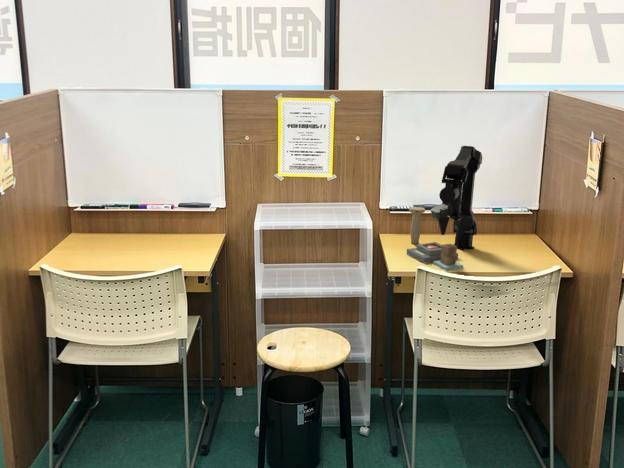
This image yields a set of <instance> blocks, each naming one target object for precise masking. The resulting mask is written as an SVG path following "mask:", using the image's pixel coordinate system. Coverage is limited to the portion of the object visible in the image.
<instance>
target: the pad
mask: <svg viewBox="0 0 624 468" xmlns="http://www.w3.org/2000/svg"><path fill="white" fill-rule="evenodd" d="M440 261H441V260H439V261H433V262H432V264H433V265H435V266H436V267H438V268H440V269H442V270H444V271H450V270H451V271H452V270H458V269H463V268H464V265H463V264H462V263H459V262H458V261H456V263H455V264H454V265H445V264H443V263H441V262H440Z"/></svg>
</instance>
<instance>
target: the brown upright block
mask: <svg viewBox="0 0 624 468" xmlns="http://www.w3.org/2000/svg"><path fill="white" fill-rule="evenodd" d="M441 245H442V248H441V261H440V262H441V263H443V264H445V265H454V264H455V263H456V262H457V258H456V253H457V250H458V248H457V246H455V245H453V244H452V243H445V244H441Z"/></svg>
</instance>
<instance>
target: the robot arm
mask: <svg viewBox="0 0 624 468" xmlns="http://www.w3.org/2000/svg"><path fill="white" fill-rule="evenodd" d="M482 163H483V154H482V152H481V151H479V150H478V149H476V147H474V146H472V145H461V147H460V150H459V153H458V155H456V157H455V159H454V160H450V161H449V162H448V163H447V165H445V167H444V170H443V174H442V178H441V184H445V186H444V187H443V188H442V189H440V192H439V194H438V195H439V199H440V200H441V204H438V205H435V206H434V207H432V208H431V209H430V214H431V218H433V219H435V220H437V223H438V227H439V231H440V234H441V235H440V236H444V235H445V233H446V232H447V228H448V225H449V221H450V219H452V220H453V223H452V225H453V233H454V234H455V237H454V244H452V245H455V246H457V249H460V250H461V251H464V250H470V249H475V246H473V242H474V241H473V240H474V236H476V235H477V234H478V224H477V221H476V216H475V213H474V211H473V200H474V189H475V177H476V173H477V172H478V171H479V170H480V168H481V165H482Z"/></svg>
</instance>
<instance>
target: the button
mask: <svg viewBox="0 0 624 468" xmlns="http://www.w3.org/2000/svg"><path fill="white" fill-rule="evenodd" d="M427 248H429V249H438V247H437V246H433V245H429V246H427Z"/></svg>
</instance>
